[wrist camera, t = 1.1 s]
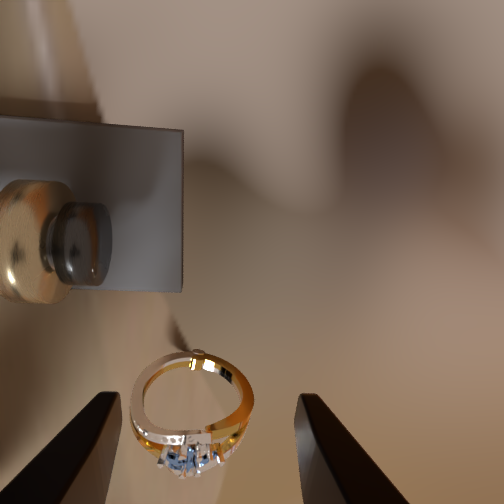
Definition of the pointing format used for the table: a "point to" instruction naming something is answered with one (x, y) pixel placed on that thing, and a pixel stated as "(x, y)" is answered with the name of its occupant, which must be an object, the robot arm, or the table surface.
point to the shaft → (50, 241)
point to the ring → (191, 441)
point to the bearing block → (111, 188)
